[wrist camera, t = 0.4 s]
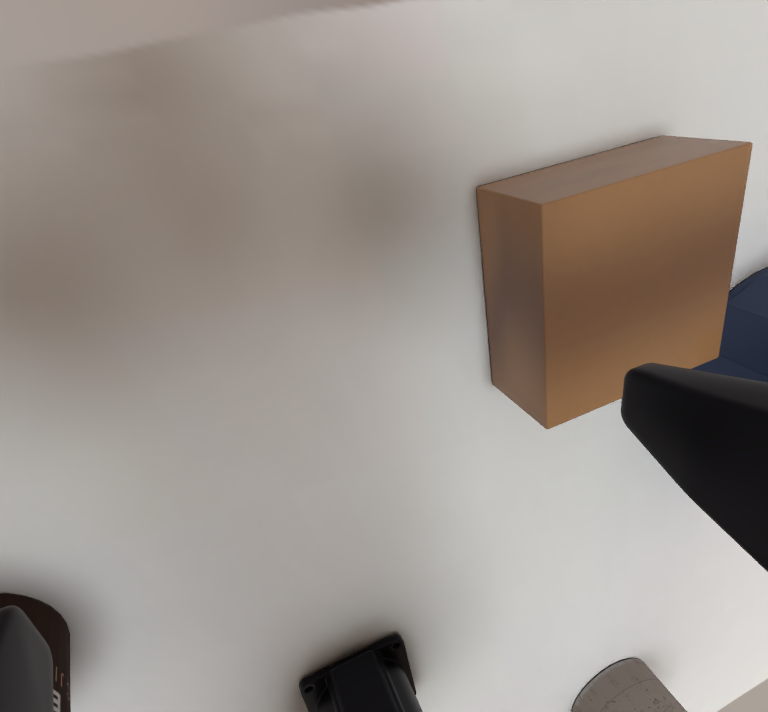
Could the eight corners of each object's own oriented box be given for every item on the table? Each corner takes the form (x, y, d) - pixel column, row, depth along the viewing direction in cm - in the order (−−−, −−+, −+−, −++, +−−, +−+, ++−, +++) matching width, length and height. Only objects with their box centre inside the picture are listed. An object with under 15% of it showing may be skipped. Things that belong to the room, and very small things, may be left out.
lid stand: (647, 324, 30) (719, 357, 26) (492, 384, 27) (546, 430, 24) (662, 134, 25) (754, 141, 21) (475, 186, 23) (541, 204, 19)
